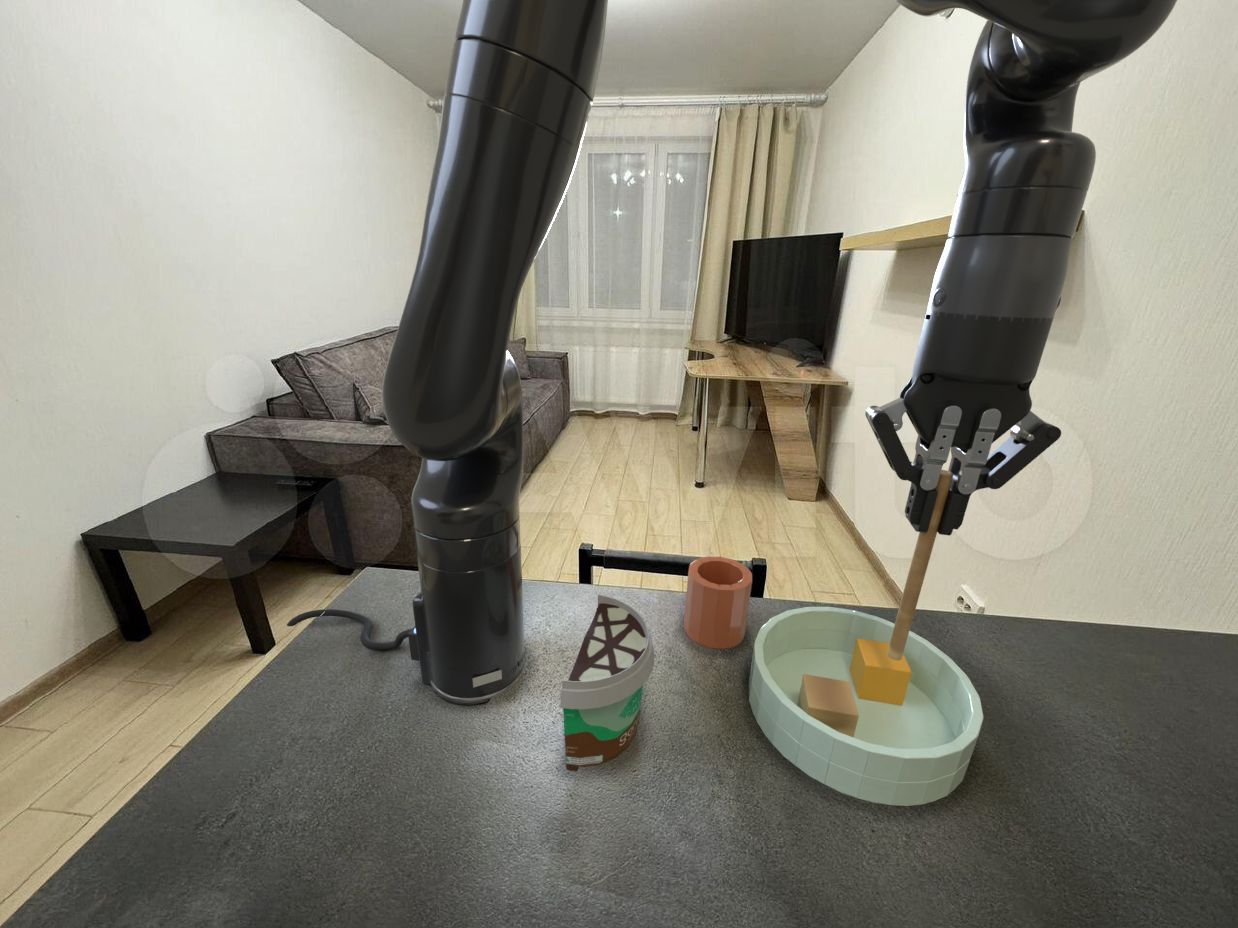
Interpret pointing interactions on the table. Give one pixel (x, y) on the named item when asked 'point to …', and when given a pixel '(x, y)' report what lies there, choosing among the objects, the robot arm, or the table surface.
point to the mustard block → (879, 673)
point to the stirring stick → (918, 571)
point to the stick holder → (717, 602)
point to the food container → (606, 685)
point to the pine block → (829, 703)
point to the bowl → (865, 709)
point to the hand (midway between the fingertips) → (929, 528)
